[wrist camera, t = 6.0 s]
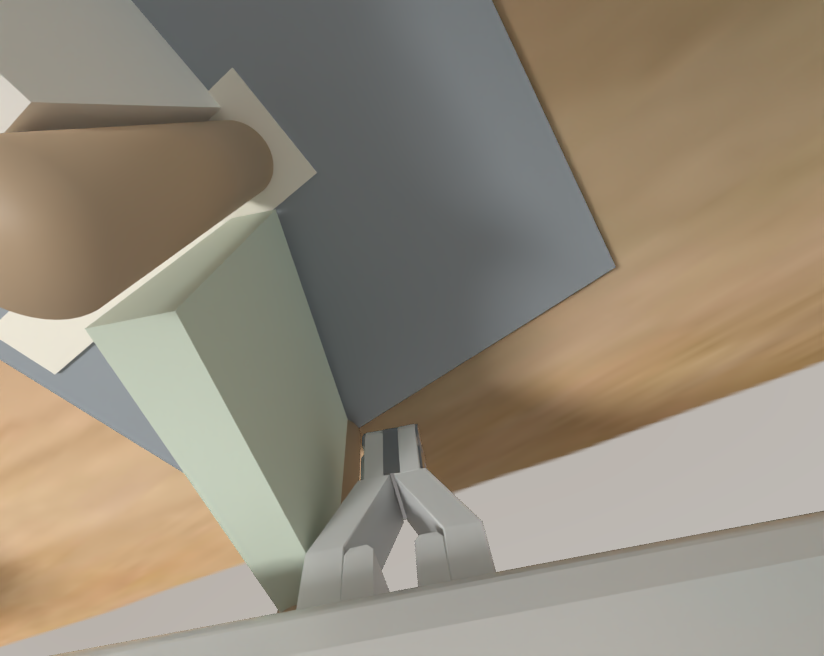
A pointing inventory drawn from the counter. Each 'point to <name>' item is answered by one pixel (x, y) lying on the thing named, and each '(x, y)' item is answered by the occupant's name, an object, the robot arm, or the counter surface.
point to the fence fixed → (105, 155)
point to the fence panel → (240, 393)
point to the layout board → (369, 192)
